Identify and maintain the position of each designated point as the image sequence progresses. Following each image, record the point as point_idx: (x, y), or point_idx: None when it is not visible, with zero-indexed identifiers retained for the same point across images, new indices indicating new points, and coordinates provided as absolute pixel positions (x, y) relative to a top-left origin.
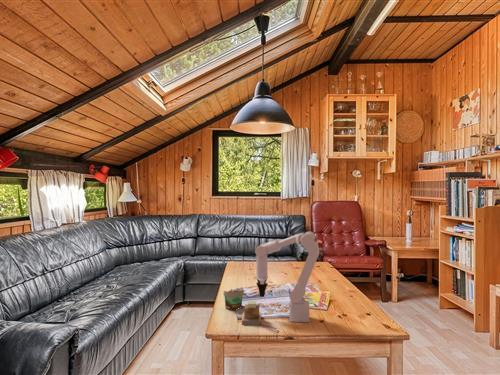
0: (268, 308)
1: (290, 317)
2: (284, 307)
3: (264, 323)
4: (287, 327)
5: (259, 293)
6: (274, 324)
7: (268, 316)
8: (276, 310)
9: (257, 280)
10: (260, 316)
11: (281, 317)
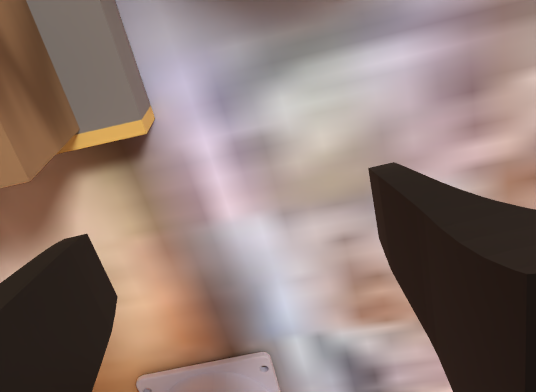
0: (404, 151)
1: (193, 378)
2: None
3: (3, 193)
4: None
5: (18, 270)
6: None
7: (187, 194)
8: (361, 236)
9: (489, 264)
10: None
11: (205, 303)
